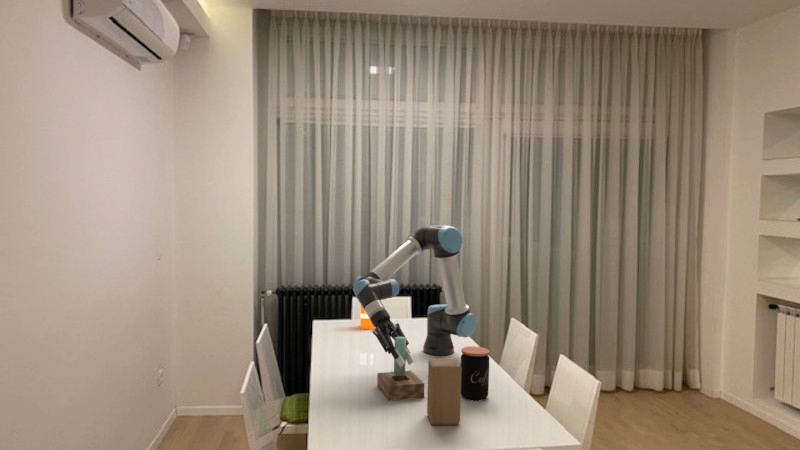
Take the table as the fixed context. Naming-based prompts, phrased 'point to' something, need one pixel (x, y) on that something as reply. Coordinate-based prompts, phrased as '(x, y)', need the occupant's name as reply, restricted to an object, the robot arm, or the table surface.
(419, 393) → the socket block
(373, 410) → the table surface
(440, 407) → the wooden block
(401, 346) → the pin
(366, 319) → the orange juice
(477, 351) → the coffee jar
